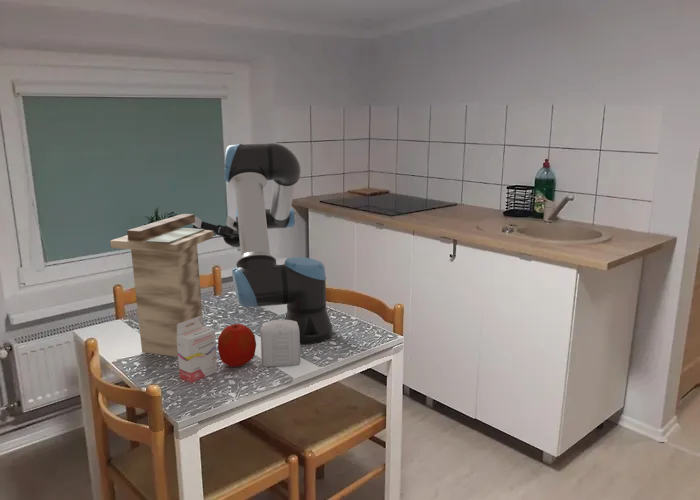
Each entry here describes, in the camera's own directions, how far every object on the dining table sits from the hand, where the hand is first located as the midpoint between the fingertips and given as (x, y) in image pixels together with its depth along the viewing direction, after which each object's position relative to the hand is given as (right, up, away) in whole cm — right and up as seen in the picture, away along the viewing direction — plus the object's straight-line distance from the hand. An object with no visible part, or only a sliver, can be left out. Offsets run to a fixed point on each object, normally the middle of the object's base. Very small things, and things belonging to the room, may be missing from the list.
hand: (208, 219), depth 182 cm
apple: (+16, -41, -32) cm, 54 cm away
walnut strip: (-7, -4, -22) cm, 24 cm away
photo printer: (+28, -41, -32) cm, 59 cm away
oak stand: (-5, -38, -21) cm, 44 cm away
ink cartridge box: (+7, -42, -38) cm, 58 cm away
